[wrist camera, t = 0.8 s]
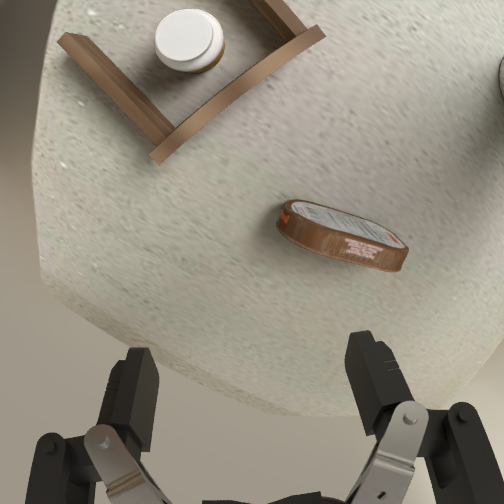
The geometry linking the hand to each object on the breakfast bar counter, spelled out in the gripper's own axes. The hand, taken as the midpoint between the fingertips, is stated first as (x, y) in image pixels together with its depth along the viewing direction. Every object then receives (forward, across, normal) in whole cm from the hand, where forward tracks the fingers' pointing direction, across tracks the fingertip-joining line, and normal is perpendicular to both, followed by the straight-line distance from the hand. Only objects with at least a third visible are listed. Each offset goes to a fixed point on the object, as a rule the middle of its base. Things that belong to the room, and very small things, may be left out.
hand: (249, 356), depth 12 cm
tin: (+24, -11, +6) cm, 28 cm away
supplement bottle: (+24, +3, -13) cm, 28 cm away
